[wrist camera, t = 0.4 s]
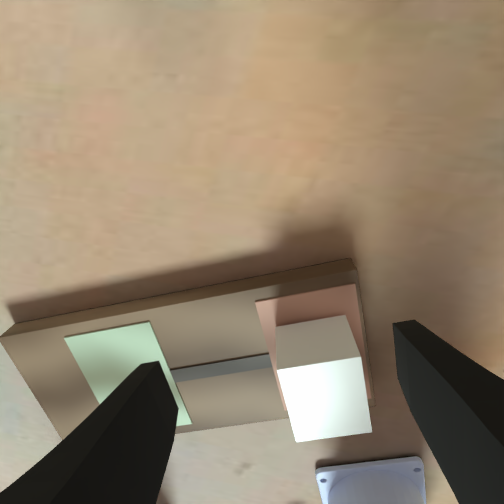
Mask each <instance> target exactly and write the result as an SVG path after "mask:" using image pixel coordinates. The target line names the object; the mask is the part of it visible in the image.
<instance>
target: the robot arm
mask: <svg viewBox="0 0 504 504" xmlns="http://www.w3.org/2000/svg"><path fill="white" fill-rule="evenodd" d="M393 332H394V343H395V354H396V365H397V376H398V380H399V383H400V385H401V388H402V390H403V393H404V396H405V398H406V401H407V403H408V406H409V408H410V411H411V413H412V415H413V417H414V419H415V421H416V422H417V424H418V426H419V428H420V430H421V432H422V434H423V436H424V438H425V440H426V442H427V443H428V445H429V447H430V449H431V451H432V453H433V455H434V457H435V458H436V460H437V462H438V464H439V466H440V468H441V470H442V472H443V474H444V475H445V477H446V479H447V481H448V483H449V485H450V487H451V489H452V491H453V492H454V494H455V497H456V499H457V501H458V503H459V504H504V380H503V379H502V378H500V377H498V376H496V375H495V374H493V373H492V372H490V371H488V370H487V369H485V368H484V367H482V366H481V365H479V364H478V363H476V362H475V361H473V360H472V359H470V358H469V357H467V356H465V355H464V354H462V353H461V352H460V351H458V350H457V349H455V348H454V347H452V346H451V345H449V344H448V343H447V342H445V341H444V340H442V339H441V338H440V337H438V336H437V335H435V334H434V333H433V332H431V331H430V330H428V329H427V328H426V327H424V326H423V325H421V324H420V323H419V322H417V321H416V320H409V321H403V322H397V323H393ZM178 410H179V408H178V406H177V403H176V401H175V398H174V396H173V393H172V391H171V389H170V386H169V384H168V381H167V379H166V377H165V374H164V372H163V369H162V367H161V364H160V362H159V361H154V362H148V363H142V364H140V365H139V366H138V367H137V368H136V369H135V370H133V371H132V372H131V373H130V374H129V375H128V376H127V377H126V378H125V379H124V380H123V381H122V382H121V383H120V384H119V385H118V386H117V387H116V388H115V390H114V391H113V392H112V393H111V394H110V395H109V396H108V397H107V398H106V399H105V400H104V401H103V402H102V403H101V404H100V405H99V406H98V407H97V408H96V409H95V410H94V411H93V412H92V413H91V414H90V415H89V416H88V417H87V418H86V419H85V420H84V421H83V422H81V423H80V424H79V425H78V426H77V427H76V428H75V429H74V430H73V431H72V432H71V433H70V434H69V435H68V436H67V437H66V438H65V439H63V440H62V441H61V442H60V443H59V444H58V445H57V446H56V447H55V448H54V449H53V450H52V451H50V452H49V453H48V454H47V455H46V456H45V457H44V458H42V459H41V460H40V461H39V462H38V463H37V464H35V465H34V466H33V467H32V468H31V469H29V470H28V471H27V472H26V473H25V474H23V475H22V476H21V477H20V478H19V479H17V480H16V481H15V482H14V483H12V484H11V485H10V486H9V487H7V488H6V489H5V490H3V491H2V492H1V493H0V504H156V501H157V497H158V494H159V490H160V487H161V484H162V480H163V477H164V473H165V470H166V467H167V463H168V460H169V456H170V453H171V449H172V445H173V442H174V436H175V430H176V424H177V417H178ZM315 474H316V479H317V483H318V487H319V491H320V495H321V499H322V503H323V504H426V491H425V478H424V464H423V462H422V459H421V458H420V457H417V456H414V457H405V458H397V459H388V460H380V461H372V462H363V463H355V464H346V465H338V466H329V467H321V468H318V469H316V471H315Z"/></svg>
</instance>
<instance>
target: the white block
mask: <svg viewBox="0 0 504 504" xmlns="http://www.w3.org/2000/svg"><path fill="white" fill-rule="evenodd" d="M275 334H276V364H277V373H278V377H279V380H280V384H281V388H282V392H283V395H284V399H285V403H286V406H287V410H288V414H289V417H290V421H291V425H292V429H293V432H294V436H295V440H296V442H301V441H309V440H316V439H324V438H332V437H340V436H347V435H355V434H363V433H371V432H372V427H371V421H370V414H369V407H368V401H367V394H366V387H365V381H364V374H363V367H362V360H361V356H360V353H359V350H358V347H357V345H356V342H355V339H354V337H353V334H352V331H351V329H350V326H349V323H348V320H347V318H346V315H341V316H335V317H329V318H324V319H318V320H312V321H306V322H301V323H295V324H289V325H284V326H278V327H275Z"/></svg>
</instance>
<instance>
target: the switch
mask: <svg viewBox="0 0 504 504" xmlns="http://www.w3.org/2000/svg"><path fill="white" fill-rule="evenodd" d="M341 315H346V318H347V320H348V323H349V326H350V329H351V331H352V334H353V337H354V339H355V342H356V345H357V347H358V350H359V353H360V356H361V360H362V367H363V374H364V381H365V387H366V394H367V401H368V407H372V406H376V405H375V398H374V391H373V383H372V376H371V369H370V362H369V355H368V347H367V340H366V333H365V326H364V318H363V311H362V304H361V297H360V289H359V282H358V275H357V269H356V267H355V265H354V264H353V262H352V260H351V258H349V259H344V260H339V261H334V262H328V263H323V264H318V265H313V266H308V267H303V268H298V269H293V270H288V271H282V272H277V273H272V274H267V275H262V276H257V277H252V278H247V279H242V280H237V281H231V282H226V283H221V284H216V285H211V286H206V287H201V288H196V289H191V290H186V291H180V292H175V293H170V294H165V295H160V296H155V297H150V298H145V299H140V300H134V301H129V302H124V303H119V304H114V305H109V306H104V307H99V308H94V309H89V310H83V311H78V312H73V313H68V314H63V315H58V316H53V317H48V318H43V319H38V320H32V321H27V322H22V323H17V324H14V325H13V326H12V327H10V328H9V329H8V330H7V331H6V332H5V333H3V334H2V335H1V336H0V342H1V344H2V345H3V347H4V348H5V350H6V352H7V353H8V355H9V356H10V358H11V359H12V361H13V363H14V364H15V366H16V367H17V369H18V370H19V372H20V374H21V375H22V377H23V378H24V380H25V382H26V383H27V385H28V386H29V388H30V389H31V391H32V393H33V394H34V396H35V397H36V399H37V401H38V402H39V404H40V405H41V407H42V408H43V410H44V412H45V413H46V415H47V416H48V418H49V419H50V421H51V423H52V424H53V426H54V427H55V429H56V431H57V432H58V434H59V435H60V437H61V438H62V440H63V439H65V438H66V437H67V436H68V435H69V434H70V433H71V432H72V431H73V430H74V429H75V428H76V427H77V426H78V425H79V424H80V423H81V422H83V421H84V420H85V419H86V418H87V417H88V416H89V415H90V414H91V413H92V412H93V411H94V410H95V409H96V408H97V407H98V406H99V405H100V404H101V403H102V402H103V401H104V400H105V399H106V398H107V397H108V396H109V395H110V394H111V393H112V392H113V391H114V390H115V388H116V387H117V386H118V385H119V384H120V383H121V382H122V381H123V380H124V379H125V378H126V377H127V376H128V375H129V374H130V373H131V372H132V371H133V370H135V369H136V368H137V367H138V366H139V365H140V364H142V363H148V362H154V361H159V362H160V364H161V367H162V369H163V372H164V374H165V377H166V379H167V381H168V384H169V386H170V389H171V391H172V393H173V396H174V398H175V401H176V403H177V406H178V408H179V410H178V417H177V424H176V430H175V434H178V433H185V432H192V431H199V430H207V429H214V428H221V427H228V426H235V425H243V424H250V423H257V422H264V421H271V420H279V419H286V418H290V417H289V414H288V410H287V406H286V403H285V399H284V395H283V392H282V388H281V384H280V380H279V377H278V373H277V364H276V334H275V327H278V326H284V325H289V324H295V323H301V322H306V321H312V320H318V319H324V318H329V317H335V316H341Z"/></svg>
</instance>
